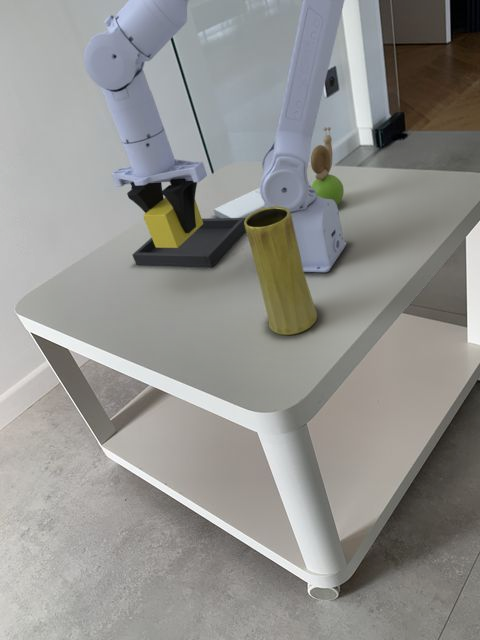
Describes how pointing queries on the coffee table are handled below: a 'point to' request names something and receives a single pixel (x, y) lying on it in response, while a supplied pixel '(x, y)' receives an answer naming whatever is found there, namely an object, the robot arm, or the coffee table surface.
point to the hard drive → (241, 206)
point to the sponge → (168, 225)
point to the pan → (195, 245)
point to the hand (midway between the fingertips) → (178, 229)
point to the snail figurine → (325, 172)
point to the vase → (280, 270)
